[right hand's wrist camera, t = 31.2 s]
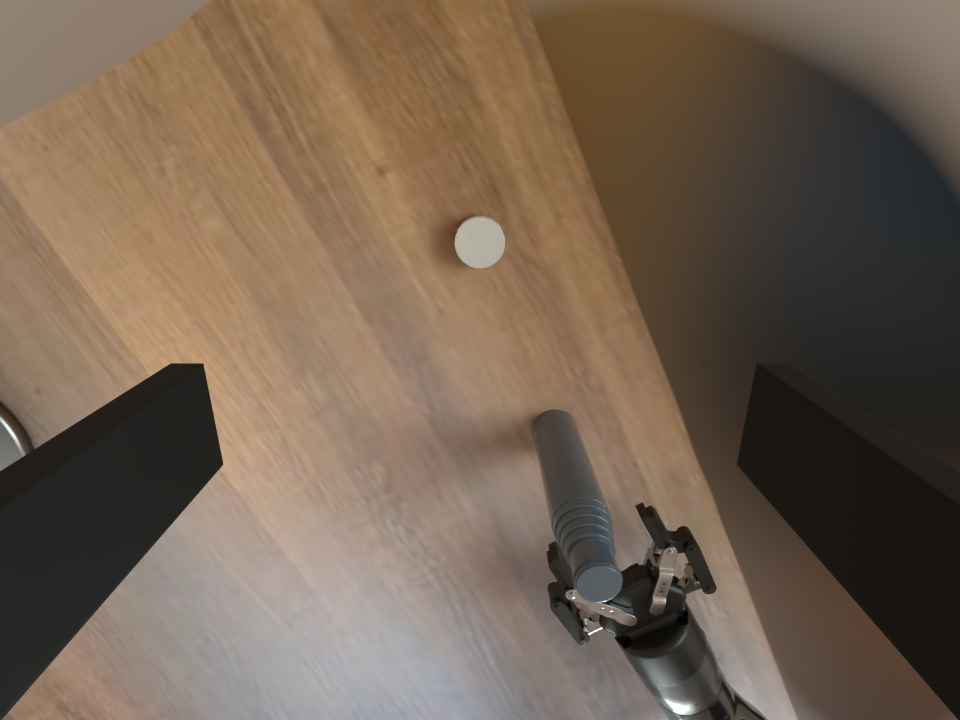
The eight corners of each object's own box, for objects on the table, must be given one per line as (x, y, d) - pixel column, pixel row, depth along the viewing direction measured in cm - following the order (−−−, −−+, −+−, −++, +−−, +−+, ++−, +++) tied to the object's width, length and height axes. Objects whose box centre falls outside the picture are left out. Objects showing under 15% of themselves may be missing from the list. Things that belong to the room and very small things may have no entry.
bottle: (579, 411, 49) (640, 559, 30) (573, 450, 50) (627, 614, 32) (535, 408, 49) (569, 554, 30) (530, 447, 50) (559, 610, 32)
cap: (467, 205, 42) (466, 207, 40) (512, 227, 43) (514, 229, 41) (447, 252, 44) (445, 256, 42) (491, 272, 44) (492, 277, 42)
